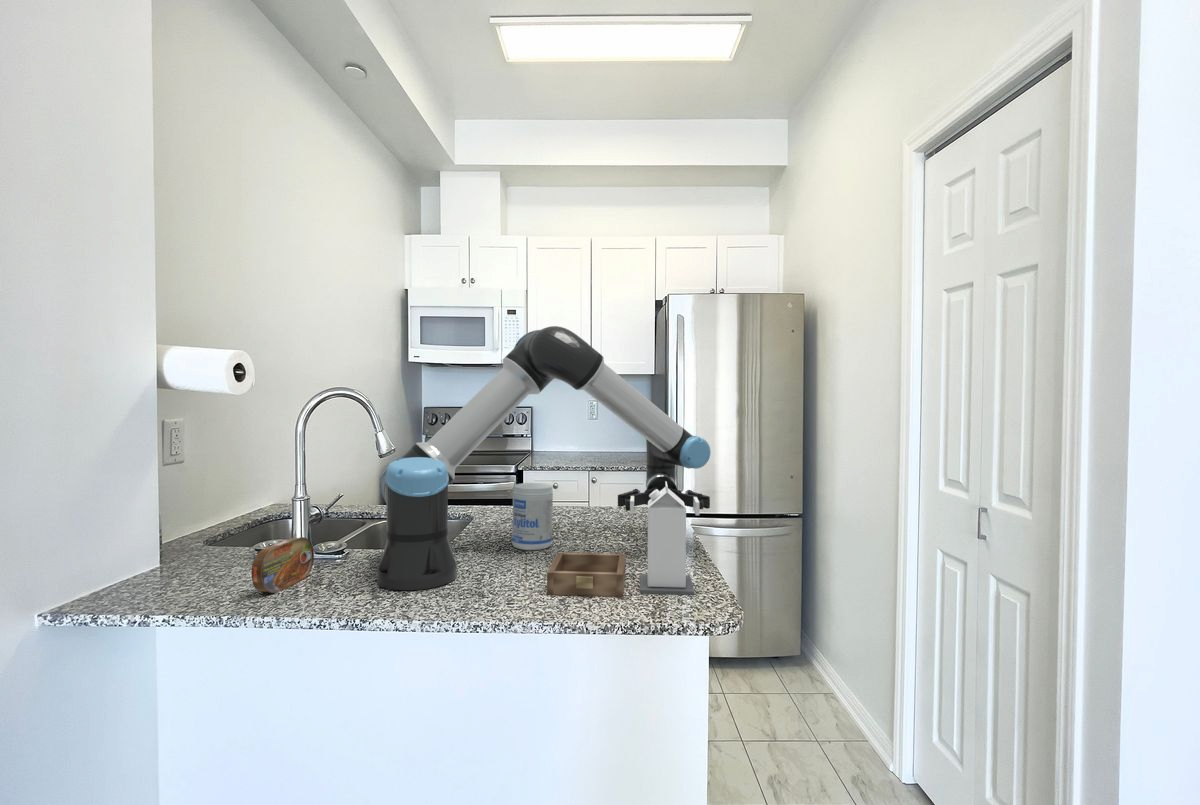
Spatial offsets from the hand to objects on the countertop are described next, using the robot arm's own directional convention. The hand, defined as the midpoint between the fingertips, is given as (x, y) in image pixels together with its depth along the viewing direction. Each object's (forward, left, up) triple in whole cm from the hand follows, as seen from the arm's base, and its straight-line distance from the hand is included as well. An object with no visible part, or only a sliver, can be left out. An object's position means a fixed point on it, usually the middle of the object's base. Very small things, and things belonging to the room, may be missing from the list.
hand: (664, 508), depth 126 cm
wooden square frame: (-15, -10, -13) cm, 22 cm away
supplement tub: (-31, +18, -13) cm, 38 cm away
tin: (-73, -16, -13) cm, 76 cm away
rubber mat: (0, -10, -13) cm, 16 cm away
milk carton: (0, -10, -13) cm, 16 cm away
